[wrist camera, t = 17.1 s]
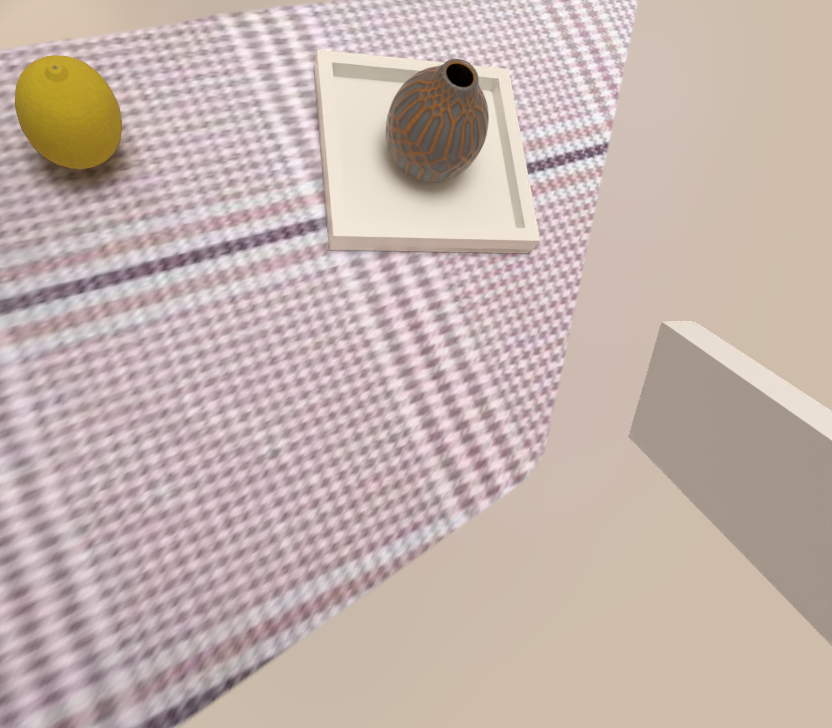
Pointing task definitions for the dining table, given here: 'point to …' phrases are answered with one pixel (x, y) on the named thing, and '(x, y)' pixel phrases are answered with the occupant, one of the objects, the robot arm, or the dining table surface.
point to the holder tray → (399, 193)
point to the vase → (438, 122)
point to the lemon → (68, 112)
